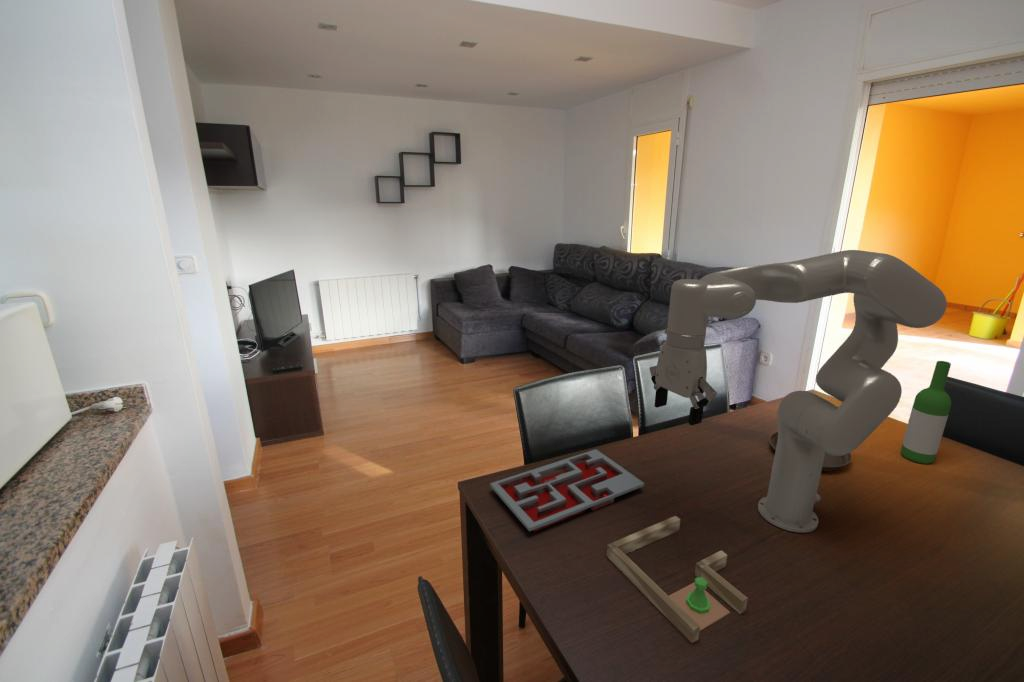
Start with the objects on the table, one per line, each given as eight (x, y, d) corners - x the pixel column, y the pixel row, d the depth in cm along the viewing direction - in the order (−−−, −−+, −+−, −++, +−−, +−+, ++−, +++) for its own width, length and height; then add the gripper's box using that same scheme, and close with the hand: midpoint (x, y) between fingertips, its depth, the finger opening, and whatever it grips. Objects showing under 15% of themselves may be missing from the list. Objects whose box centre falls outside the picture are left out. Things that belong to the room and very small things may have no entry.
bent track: (674, 526, 108) (675, 515, 107) (765, 598, 88) (768, 585, 87) (606, 556, 99) (607, 544, 98) (692, 643, 79) (693, 630, 78)
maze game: (529, 540, 104) (529, 528, 103) (490, 493, 120) (490, 483, 119) (643, 493, 120) (644, 483, 119) (595, 458, 137) (596, 449, 136)
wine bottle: (931, 455, 137) (959, 360, 128) (936, 468, 131) (966, 369, 122) (897, 448, 141) (923, 356, 132) (901, 460, 135) (928, 363, 126)
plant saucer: (807, 480, 126) (809, 470, 125) (752, 443, 145) (754, 434, 144) (867, 470, 130) (870, 460, 129) (807, 435, 149) (809, 426, 148)
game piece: (715, 606, 86) (719, 580, 84) (701, 618, 84) (705, 591, 82) (694, 591, 89) (698, 566, 88) (681, 601, 87) (684, 576, 85)
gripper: (642, 332, 101) (636, 403, 106) (707, 354, 86) (696, 435, 92) (667, 327, 104) (660, 396, 109) (733, 348, 90) (722, 427, 95)
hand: (676, 414), depth 100 cm, fingers open, 9 cm apart
